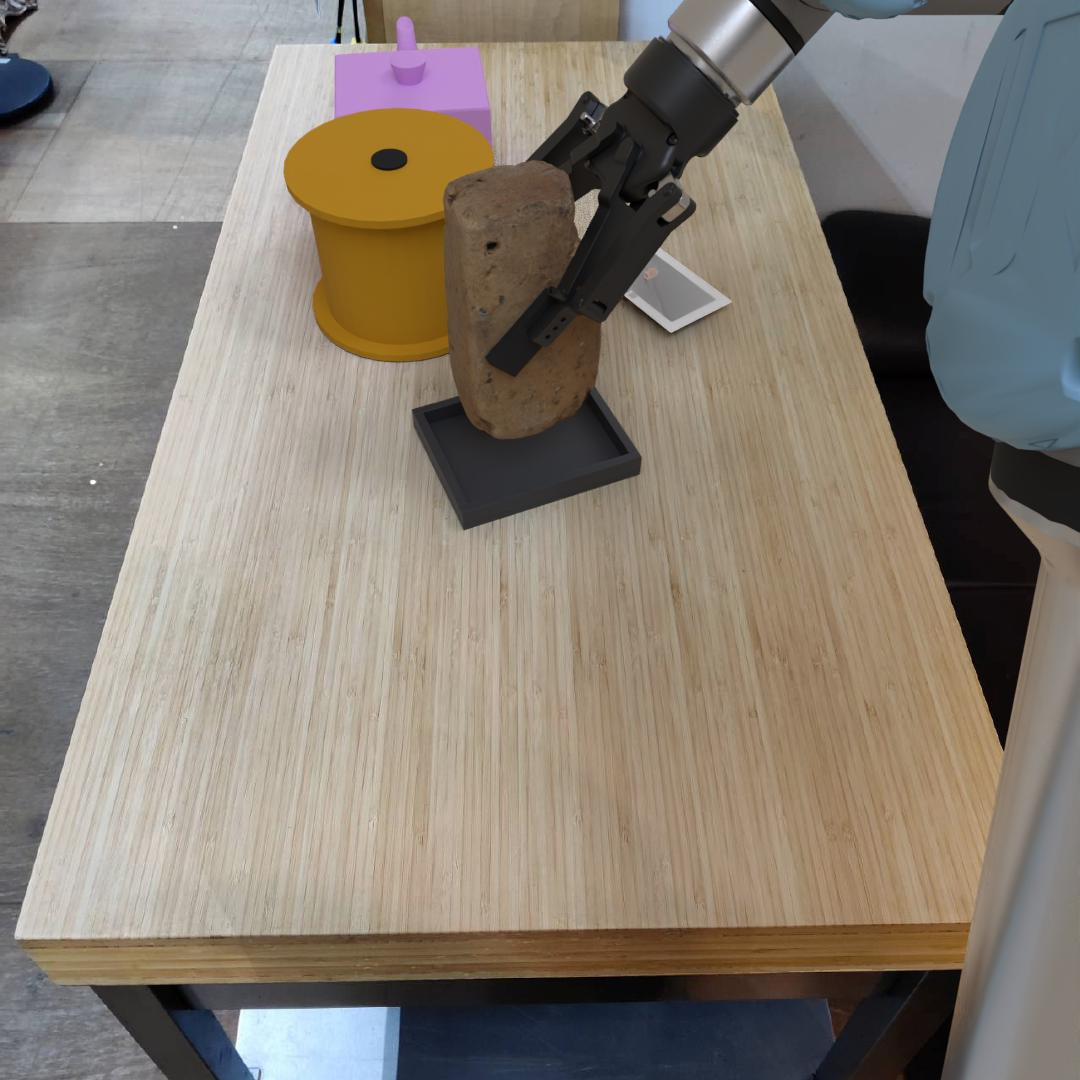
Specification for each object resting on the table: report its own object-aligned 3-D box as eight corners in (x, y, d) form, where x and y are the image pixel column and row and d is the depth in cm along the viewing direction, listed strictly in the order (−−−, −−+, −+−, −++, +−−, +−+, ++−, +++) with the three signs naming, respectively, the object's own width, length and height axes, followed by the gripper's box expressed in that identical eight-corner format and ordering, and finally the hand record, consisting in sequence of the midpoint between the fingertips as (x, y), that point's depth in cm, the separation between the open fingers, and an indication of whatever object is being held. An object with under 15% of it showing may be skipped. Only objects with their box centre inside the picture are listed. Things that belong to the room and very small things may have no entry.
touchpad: (632, 237, 103) (633, 218, 101) (730, 310, 95) (734, 292, 94) (572, 263, 100) (573, 245, 98) (669, 342, 92) (672, 323, 91)
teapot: (477, 118, 118) (472, -6, 107) (498, 240, 102) (494, 109, 91) (350, 125, 116) (331, 1, 105) (352, 250, 101) (329, 119, 90)
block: (474, 454, 76) (458, 228, 60) (448, 391, 80) (426, 166, 65) (605, 421, 78) (621, 196, 63) (572, 362, 83) (580, 138, 67)
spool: (481, 236, 103) (474, 96, 91) (515, 347, 92) (512, 204, 80) (307, 257, 100) (277, 116, 88) (320, 374, 89) (288, 230, 77)
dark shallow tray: (640, 474, 82) (642, 456, 80) (463, 530, 78) (462, 513, 76) (577, 379, 89) (578, 361, 87) (413, 426, 85) (411, 408, 83)
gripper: (816, 181, 60) (568, 440, 69) (663, 38, 72) (467, 275, 80) (756, 114, 55) (494, 405, 63) (601, -28, 66) (398, 234, 75)
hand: (480, 332), depth 72 cm, fingers closed on block, 7 cm apart
